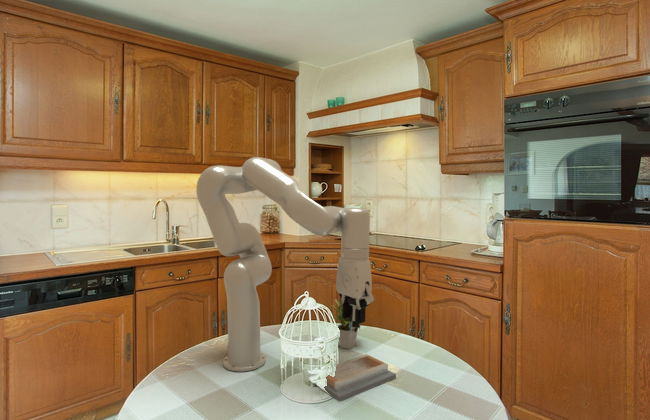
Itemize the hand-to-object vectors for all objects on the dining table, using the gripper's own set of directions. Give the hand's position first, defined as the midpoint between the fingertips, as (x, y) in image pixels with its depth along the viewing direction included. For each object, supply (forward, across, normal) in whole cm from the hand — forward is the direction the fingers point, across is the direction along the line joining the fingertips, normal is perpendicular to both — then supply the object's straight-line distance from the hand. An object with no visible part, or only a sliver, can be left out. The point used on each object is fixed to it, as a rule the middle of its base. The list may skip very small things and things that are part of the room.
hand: (353, 319), depth 108 cm
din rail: (+16, 0, 0) cm, 16 cm away
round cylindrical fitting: (+3, 0, 0) cm, 3 cm away
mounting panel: (+17, 0, 0) cm, 17 cm away
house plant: (+17, -18, +14) cm, 28 cm away
